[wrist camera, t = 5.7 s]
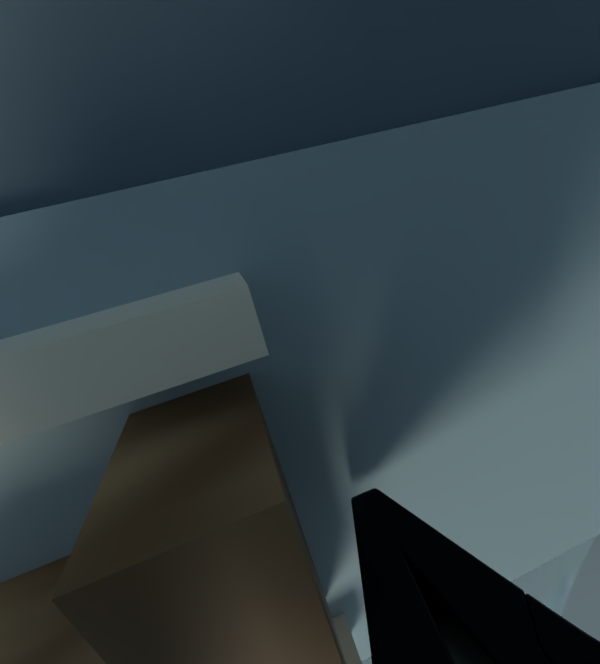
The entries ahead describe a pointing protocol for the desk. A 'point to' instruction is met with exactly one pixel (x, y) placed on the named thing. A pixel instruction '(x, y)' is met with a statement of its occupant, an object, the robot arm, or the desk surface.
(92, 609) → the tee
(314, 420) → the jig
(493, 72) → the desk surface
